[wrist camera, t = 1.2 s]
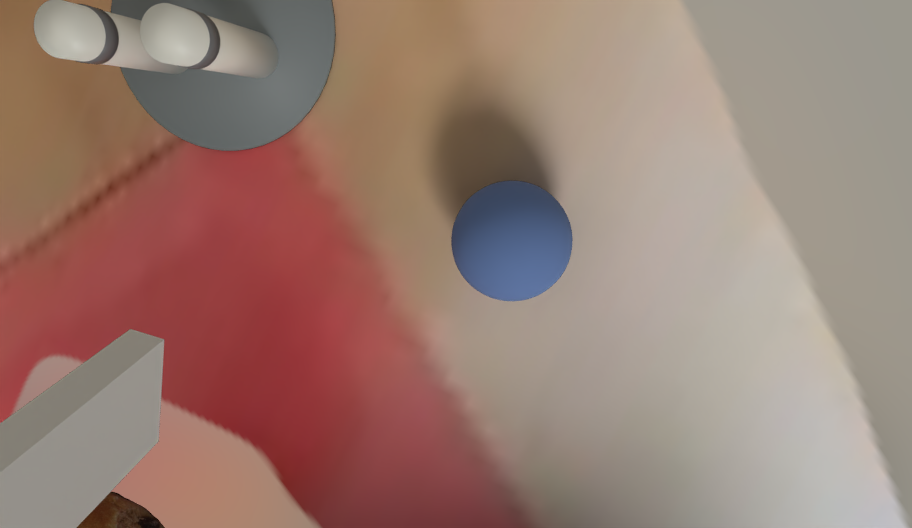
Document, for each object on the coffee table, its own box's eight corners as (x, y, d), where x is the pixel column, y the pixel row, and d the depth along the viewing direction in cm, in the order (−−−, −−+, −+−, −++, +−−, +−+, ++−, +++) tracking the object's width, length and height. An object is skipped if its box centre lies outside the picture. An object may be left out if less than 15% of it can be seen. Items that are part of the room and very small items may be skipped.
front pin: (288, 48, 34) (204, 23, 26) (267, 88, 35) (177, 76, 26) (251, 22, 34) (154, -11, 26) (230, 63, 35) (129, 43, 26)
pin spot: (380, -12, 33) (379, -12, 32) (264, 195, 36) (262, 195, 36) (175, -151, 33) (173, -153, 33) (78, 67, 36) (76, 67, 36)
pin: (203, 44, 35) (94, 19, 27) (184, 84, 35) (71, 71, 27) (166, 19, 35) (46, -14, 27) (147, 59, 35) (24, 38, 27)
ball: (593, 217, 33) (601, 236, 28) (528, 305, 35) (523, 340, 29) (500, 154, 33) (489, 159, 28) (440, 244, 35) (417, 267, 29)
